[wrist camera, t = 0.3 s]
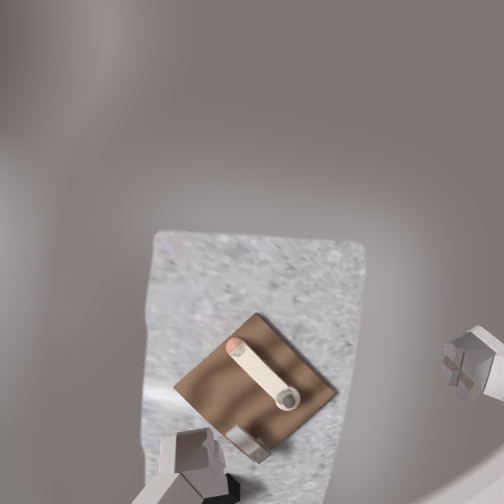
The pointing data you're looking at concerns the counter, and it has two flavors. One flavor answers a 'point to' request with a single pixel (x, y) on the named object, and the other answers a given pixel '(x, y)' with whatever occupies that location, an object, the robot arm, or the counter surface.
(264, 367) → the link
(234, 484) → the digital camera
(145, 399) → the counter surface
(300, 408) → the pivot base
